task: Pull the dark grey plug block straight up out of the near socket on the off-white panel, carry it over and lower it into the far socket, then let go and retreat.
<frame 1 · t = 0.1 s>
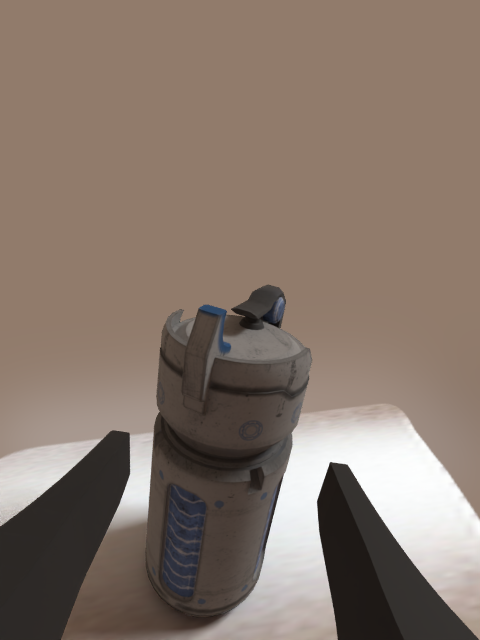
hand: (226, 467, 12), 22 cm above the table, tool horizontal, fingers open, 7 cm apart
beverage bottle: (208, 552, 31), on the table
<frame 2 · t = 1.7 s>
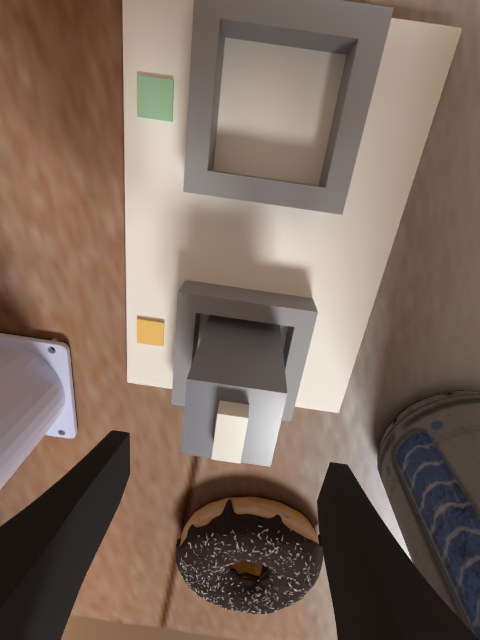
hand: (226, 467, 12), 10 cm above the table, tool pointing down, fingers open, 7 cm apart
beverage bottle: (454, 443, 24), on the table
panel: (255, 243, 19), on the table
donut: (248, 530, 29), on the table
plug: (240, 344, 20), point 1 cm above the table, touching panel
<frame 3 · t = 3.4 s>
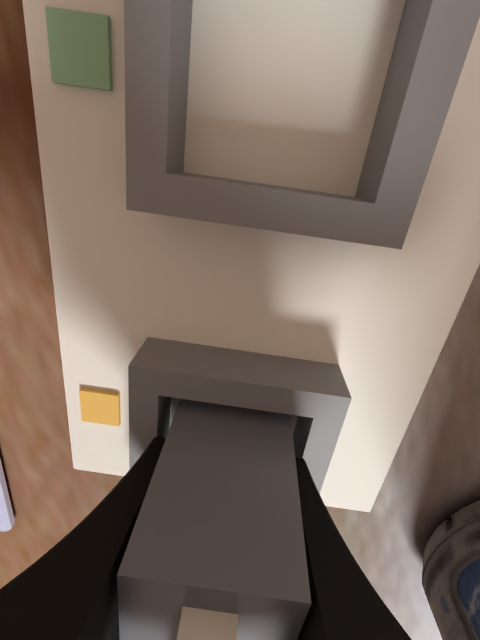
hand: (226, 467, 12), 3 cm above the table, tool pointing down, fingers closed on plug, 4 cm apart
panel: (253, 283, 12), on the table
plug: (231, 424, 14), point 1 cm above the table, touching gripper, panel
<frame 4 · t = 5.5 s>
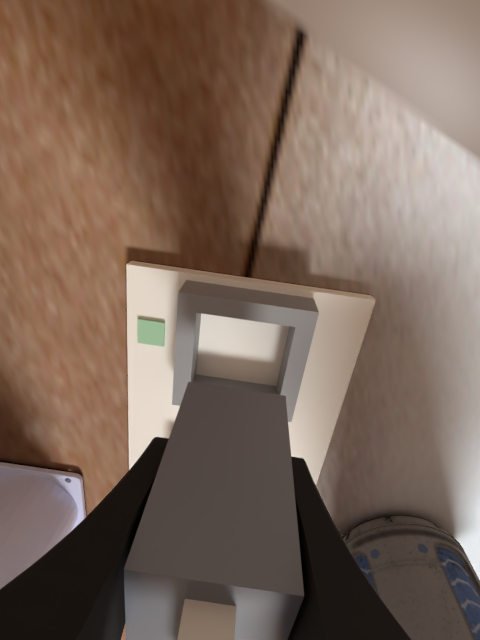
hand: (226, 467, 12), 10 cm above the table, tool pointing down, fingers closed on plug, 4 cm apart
beverage bottle: (399, 548, 29), on the table
panel: (231, 413, 24), on the table
plug: (231, 425, 15), point 7 cm above the table, touching gripper
when the fingers open (4 cm above the table, at t = 7.7 s): plug stays where it is, resting on panel.
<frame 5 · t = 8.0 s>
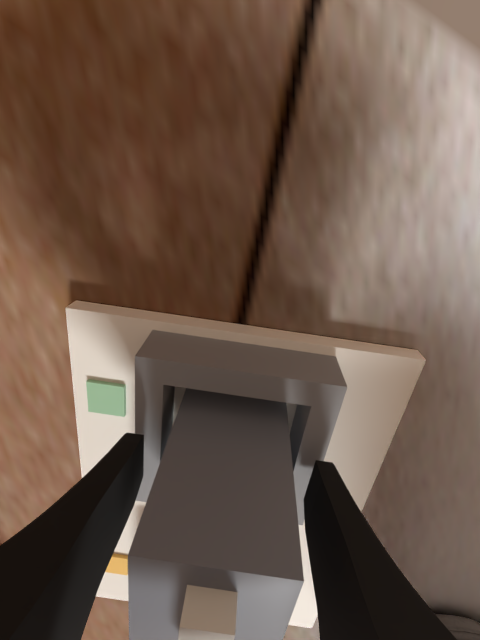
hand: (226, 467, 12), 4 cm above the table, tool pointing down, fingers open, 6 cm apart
panel: (220, 493, 18), on the table
plug: (231, 421, 15), point 1 cm above the table, touching panel
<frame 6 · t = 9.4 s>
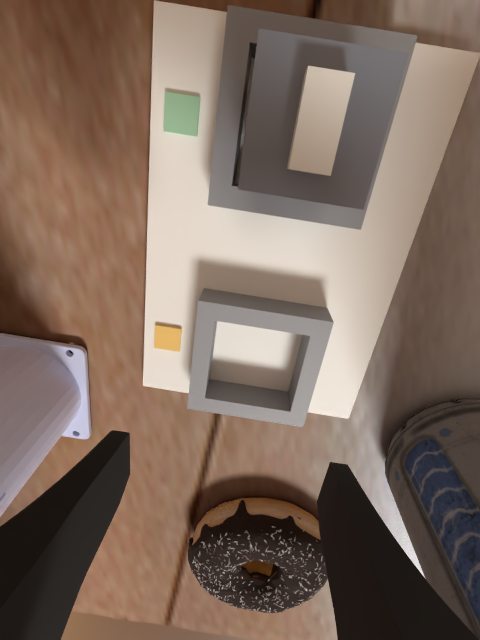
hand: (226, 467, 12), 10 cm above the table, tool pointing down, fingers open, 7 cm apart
beverage bottle: (459, 450, 24), on the table
panel: (273, 253, 19), on the table
donut: (258, 530, 30), on the table
plug: (295, 142, 16), point 1 cm above the table, touching panel
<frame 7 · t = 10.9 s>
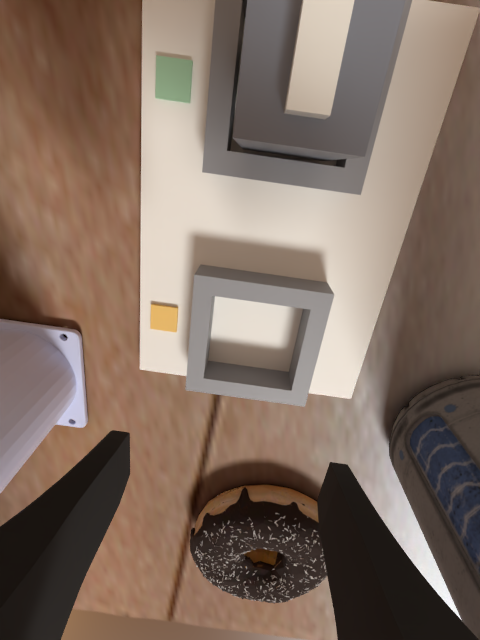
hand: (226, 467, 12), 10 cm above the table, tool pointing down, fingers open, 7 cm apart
beverage bottle: (464, 429, 24), on the table
panel: (270, 227, 19), on the table
donut: (261, 519, 29), on the table
plug: (291, 107, 16), point 1 cm above the table, touching panel
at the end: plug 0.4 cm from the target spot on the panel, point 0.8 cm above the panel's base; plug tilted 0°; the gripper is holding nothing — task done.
